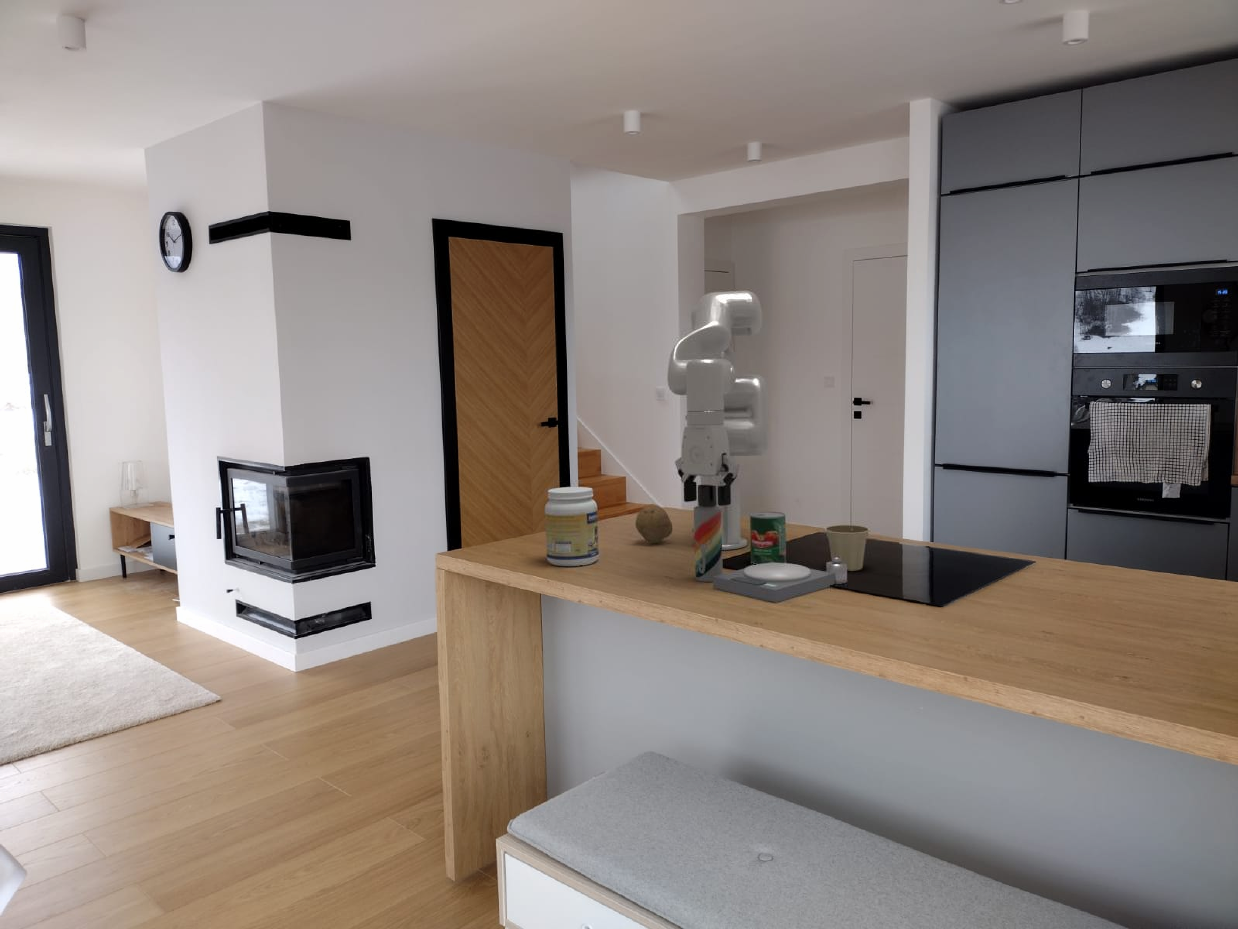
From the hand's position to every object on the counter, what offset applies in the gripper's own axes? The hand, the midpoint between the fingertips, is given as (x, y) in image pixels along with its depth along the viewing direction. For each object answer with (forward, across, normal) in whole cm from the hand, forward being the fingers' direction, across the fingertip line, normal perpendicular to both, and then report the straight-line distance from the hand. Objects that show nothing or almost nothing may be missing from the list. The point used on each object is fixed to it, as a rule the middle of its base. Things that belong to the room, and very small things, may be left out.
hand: (707, 503), depth 181 cm
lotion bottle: (+16, -1, +1) cm, 16 cm away
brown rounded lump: (+15, -38, +19) cm, 45 cm away
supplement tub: (+16, -36, -8) cm, 40 cm away
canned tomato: (+16, -2, +21) cm, 26 cm away
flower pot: (+16, +14, +28) cm, 35 cm away
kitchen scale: (+16, +13, +5) cm, 22 cm away
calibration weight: (+16, +20, +16) cm, 30 cm away
